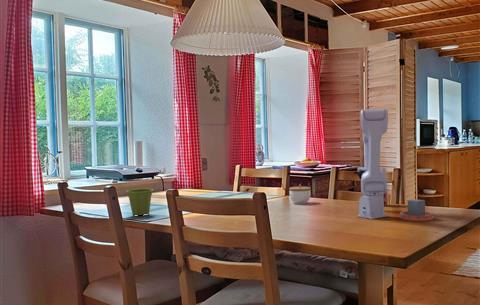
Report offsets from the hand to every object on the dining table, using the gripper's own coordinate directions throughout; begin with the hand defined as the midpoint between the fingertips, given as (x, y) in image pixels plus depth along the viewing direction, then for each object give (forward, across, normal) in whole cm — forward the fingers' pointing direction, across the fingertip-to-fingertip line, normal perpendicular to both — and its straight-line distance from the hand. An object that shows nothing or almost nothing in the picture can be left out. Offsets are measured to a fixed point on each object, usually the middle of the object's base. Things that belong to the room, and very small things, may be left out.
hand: (371, 189), depth 202 cm
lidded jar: (+10, +39, +9) cm, 41 cm away
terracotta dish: (+9, -24, +1) cm, 26 cm away
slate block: (+8, -24, +1) cm, 25 cm away
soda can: (+10, +9, -14) cm, 19 cm away
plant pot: (+10, +56, +85) cm, 102 cm away
